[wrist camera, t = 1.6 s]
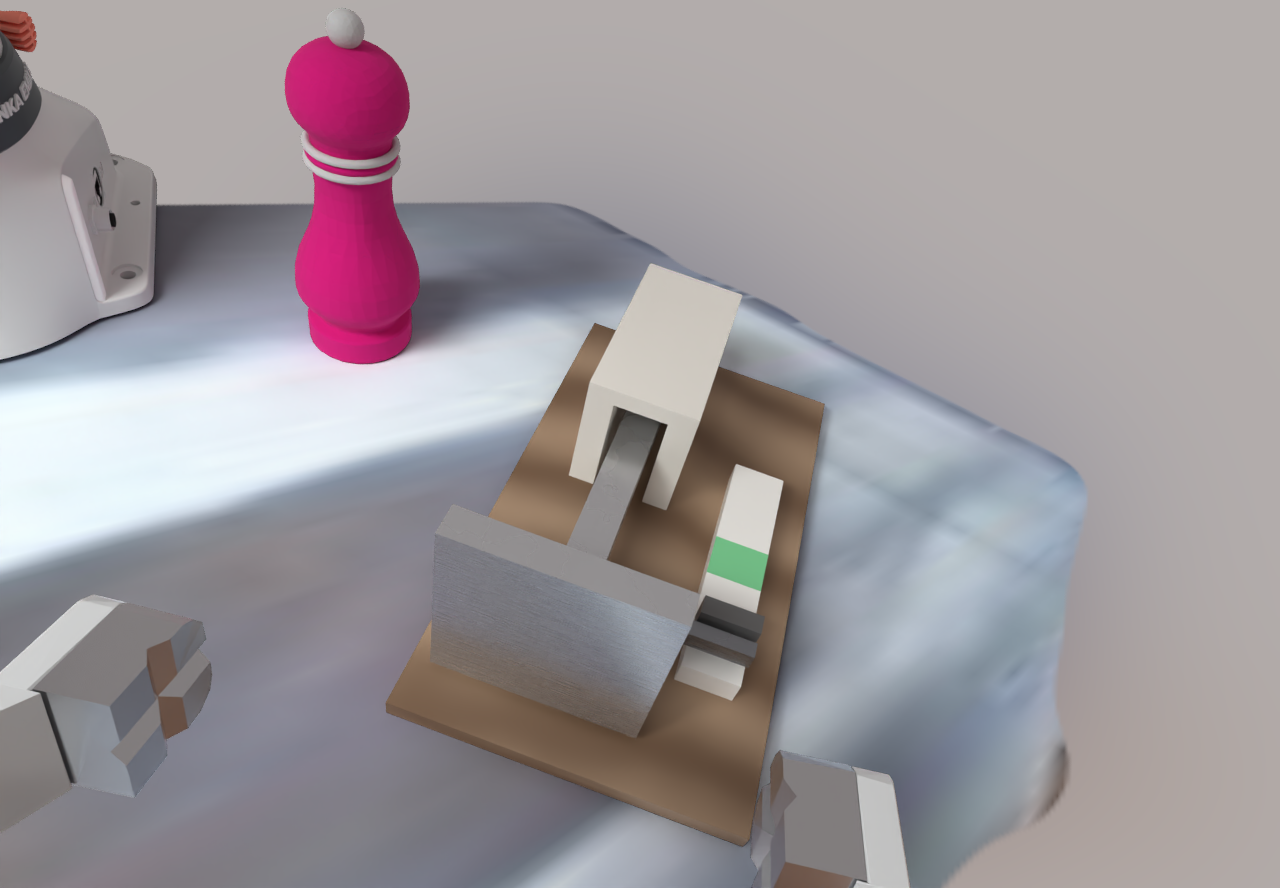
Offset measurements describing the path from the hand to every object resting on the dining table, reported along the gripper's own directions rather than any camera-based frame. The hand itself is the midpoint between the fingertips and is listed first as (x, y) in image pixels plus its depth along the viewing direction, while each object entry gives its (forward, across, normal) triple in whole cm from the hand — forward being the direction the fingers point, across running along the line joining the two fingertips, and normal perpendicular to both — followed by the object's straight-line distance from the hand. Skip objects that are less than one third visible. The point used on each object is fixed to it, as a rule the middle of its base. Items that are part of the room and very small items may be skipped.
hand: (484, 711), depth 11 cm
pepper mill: (+39, +19, +15) cm, 46 cm away
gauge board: (+30, -2, +19) cm, 35 cm away
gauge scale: (+27, -7, +19) cm, 34 cm away
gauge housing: (+36, 0, +16) cm, 40 cm away
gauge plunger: (+27, -1, +18) cm, 32 cm away
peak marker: (+22, -6, +18) cm, 29 cm away
